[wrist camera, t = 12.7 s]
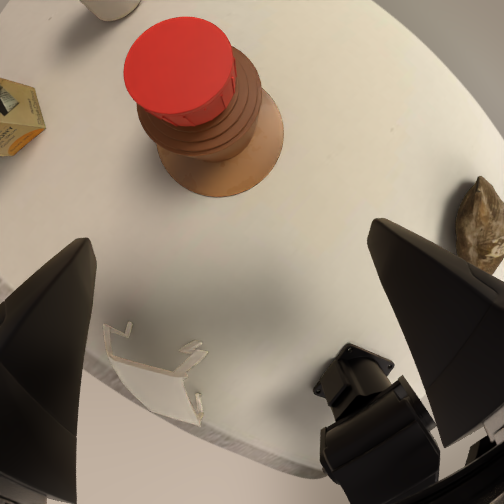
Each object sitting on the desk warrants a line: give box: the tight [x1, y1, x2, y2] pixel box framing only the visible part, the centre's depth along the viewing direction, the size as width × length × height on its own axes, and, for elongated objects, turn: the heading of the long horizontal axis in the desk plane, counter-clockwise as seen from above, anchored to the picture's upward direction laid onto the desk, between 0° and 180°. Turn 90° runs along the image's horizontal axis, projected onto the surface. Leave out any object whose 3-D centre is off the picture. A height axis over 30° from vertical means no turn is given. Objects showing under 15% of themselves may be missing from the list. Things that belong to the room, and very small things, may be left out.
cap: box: [124, 17, 237, 127], centre depth 11 cm, size 4×4×3 cm
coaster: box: [157, 88, 284, 197], centre depth 23 cm, size 10×10×1 cm
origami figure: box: [103, 321, 208, 427], centre depth 26 cm, size 12×8×5 cm
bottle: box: [137, 46, 262, 162], centre depth 16 cm, size 6×6×14 cm
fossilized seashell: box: [455, 176, 504, 275], centre depth 23 cm, size 8×7×10 cm
